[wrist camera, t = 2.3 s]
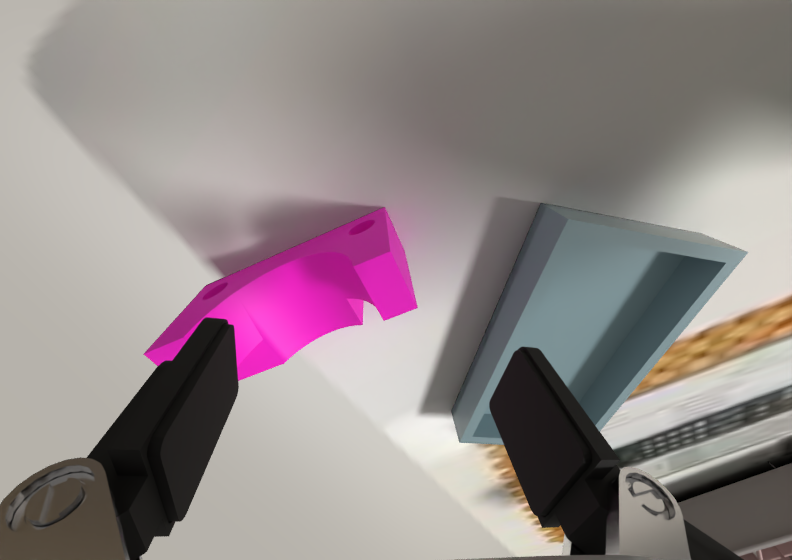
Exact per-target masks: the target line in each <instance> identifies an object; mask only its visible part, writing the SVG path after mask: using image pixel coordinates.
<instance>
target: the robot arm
mask: <svg viewBox="0 0 792 560" xmlns="http://www.w3.org/2000/svg"><path fill="white" fill-rule="evenodd" d="M237 393H238V372H237V358H236V344H235V330H234V325H231V324H228V321H227V320H226V319H219V318H208V317H206V318H204V319H203V320H202V321H201V323H200V324H199V325H198V327H197V328H196V329H195V331H194V332H193V333H192V335H191V336H190V337H189V339H188V340H187V341H186V343H185V344H184V345H183V347H182V348H181V350H180V351H179V352H178V354H177V355H176V356H175V358H174V359H173V360H172V361H170V360H166V361H164V362H162V363H161V364H160V365H159V366H158V367H157V368H156V369H155V371H154V372H153V373H152V375H151V376H150V377H149V378H148V380H147V381H146V382H145V384H144V385H143V386H142V387H141V389H140V390H139V392H138V393H137V394H136V395H135V396H134V398H133V399H132V400H131V402H130V403H129V404H128V406H127V407H126V408H125V409H124V411H123V412H122V413H121V414H120V416H119V417H118V418H117V419H116V421H115V422H114V423H113V425H112V426H111V427H110V428H109V430H108V431H107V432H106V434H105V435H104V436H103V437H102V439H101V440H100V441H99V443H98V444H97V445H96V446H95V448H94V449H93V451H92V452H91V453H90V454H89V455H88V457H87V458H74V459H68V460H64V461H61V462H58V463H56V464H53V465H50V466H48V467H46V468H44V469H42V470H40V471H39V472H37V473H35V474H33V475H31V476H30V477H29V478H27V479H26V480H25V481H23V482H22V483H20V484H19V485H18V486H16V488H14V489H13V491H11V492H10V494H9V495H7V496H6V497H5V498H4V499H3V501H2V502H1V504H0V560H142V557H141V555H142V554H144V553H145V552H147V550H148V548H149V546H150V544H151V542H152V539H153V538H154V536H155V537H156V536H169V535H170V532H171V530H172V528H173V526H174V523H175V521H182V520H183V518H184V517H185V515H186V513H187V511H188V509H189V506H190V504H191V502H192V499H193V497H194V495H195V492H196V490H197V488H198V485H199V483H200V481H201V478H202V476H203V474H204V472H205V469H206V467H207V465H208V462H209V460H210V458H211V455H212V453H213V451H214V448H215V446H216V444H217V441H218V439H219V437H220V434H221V432H222V429H223V427H224V425H225V423H226V420H227V418H228V415H229V413H230V411H231V409H232V406H233V404H234V402H235V399H236V397H237ZM489 408H490V412H491V414H492V417H493V419H494V422H495V424H496V426H497V429H498V431H499V434H500V436H501V438H502V441H503V443H504V446H505V448H506V450H507V453H508V455H509V458H510V460H511V462H512V465H513V467H514V470H515V472H516V474H517V477H518V479H519V482H520V484H521V487H522V489H523V491H524V494H525V496H526V499H527V501H528V503H529V506H530V508H531V510H532V512H533V513H534V514H535V515H536V516H538V519H539V521H540V523H541V526H542V528H546V527H559V526H560V525H561V527H562V529H563V531H564V533H565V536H564V543H563V550H562V556H536V557H508V558H481V559H456V560H744V559H742V558H741V557H739V556H738V555H736V554H735V553H733V552H732V551H730V550H729V549H727V548H726V547H724V546H723V545H721V544H720V543H718V542H717V541H716V540H714V539H713V538H711V537H710V536H708V535H707V534H705V533H704V532H702V531H701V530H699V529H698V528H696V527H695V526H693V525H692V524H690V523H689V522H687V521H686V520H684V519H683V515H682V512H681V509H680V506H679V505H678V503H677V501H676V500H675V498H674V497H673V496H672V494H671V493H670V492H669V491H668V490H667V489H666V487H664V486H663V485H662V484H661V483H660V482H659V481H658V480H657V479H655V478H654V477H652V476H651V475H649V474H648V473H646V472H644V471H642V470H640V469H637V468H633V467H624V468H623V469H622V470H620V469H619V468H618V466H617V465H616V464H617V463H618V462H619V461H620V459H619V458H618V456H617V455H616V454H615V452H614V451H613V450H612V448H611V447H610V445H609V444H608V443H607V441H606V440H605V439H604V437H603V436H602V434H601V433H600V432H599V430H598V429H597V427H596V426H595V425H594V423H593V422H592V421H591V419H590V418H589V416H588V415H587V414H586V412H585V411H584V409H583V408H582V407H581V405H580V404H579V403H578V401H577V400H576V398H575V397H574V396H573V394H572V393H571V392H570V390H569V389H568V387H567V386H566V385H565V383H564V382H563V380H562V379H561V378H560V376H559V375H558V374H557V372H556V371H555V369H554V368H553V367H552V365H551V364H550V362H549V361H548V360H547V358H546V357H545V356H544V354H543V353H542V351H541V350H540V349H538V348H533V347H520V348H519V349H518V350H516V351H515V352H514V353H513V355H512V357H511V359H510V361H509V363H508V365H507V367H506V369H505V371H504V373H503V375H502V377H501V379H500V381H499V383H498V385H497V387H496V389H495V391H494V393H493V395H492V397H491V399H490V402H489Z"/></svg>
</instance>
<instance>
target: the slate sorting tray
mask: <svg viewBox="0 0 792 560" xmlns="http://www.w3.org/2000/svg"><path fill="white" fill-rule="evenodd" d="M747 253H748V252H747V251H744V250H742V249H739V248H737V247H734V246H732V245H729V244H727V243H724V242H722V241H719V240H717V239H714V238H711V237H709V236H706V235H704V234H701V233H696V232H691V231H686V230H681V229H675V228H670V227H665V226H659V225H654V224H649V223H644V222H638V221H633V220H628V219H623V218H617V217H612V216H607V215H602V214H596V213H591V212H586V211H581V210H575V209H570V208H565V207H559V206H554V205H549V204H544V203H541V204H540V207H539V209H538V211H537V214H536V216H535V218H534V220H533V223H532V225H531V227H530V230H529V232H528V234H527V237H526V239H525V241H524V244H523V246H522V248H521V251H520V253H519V255H518V258H517V260H516V262H515V265H514V267H513V269H512V272H511V274H510V276H509V279H508V281H507V283H506V285H505V288H504V290H503V292H502V295H501V297H500V299H499V302H498V304H497V306H496V309H495V311H494V313H493V316H492V318H491V320H490V323H489V325H488V327H487V330H486V332H485V334H484V337H483V339H482V341H481V344H480V346H479V348H478V350H477V353H476V355H475V357H474V360H473V362H472V364H471V367H470V369H469V371H468V374H467V376H466V378H465V381H464V383H463V385H462V388H461V390H460V392H459V395H458V397H457V399H456V402H455V404H454V406H453V409H452V411H451V412H452V416H453V420H454V424H455V428H456V431H457V435H458V439H459V442H460V443H480V444H499V445H504V443H503V441H502V438H501V436H500V434H499V431H498V429H497V426H496V424H495V422H494V419H493V417H492V414H491V412H490V408H489V402H490V399H491V397H492V395H493V393H494V391H495V389H496V387H497V385H498V383H499V381H500V379H501V377H502V375H503V373H504V371H505V369H506V367H507V365H508V363H509V361H510V359H511V357H512V355H513V353H514V352H515V351H516V350H518V349H519V348H520V347H533V348H538V349H540V350H541V351H542V353H543V354H544V356H545V357H546V358H547V360H548V361H549V362H550V364H551V365H552V367H553V368H554V369H555V371H556V372H557V374H558V375H559V376H560V378H561V379H562V380H563V382H564V383H565V385H566V386H567V387H568V389H569V390H570V392H571V393H572V394H573V396H574V397H575V398H576V400H577V401H578V403H579V404H580V405H581V407H582V408H583V409H584V411H585V412H586V414H587V415H588V416H589V418H590V419H591V421H592V422H593V423H594V425H595V426H596V427H597V429H598V430H599V432H600V431H601V429H602V428H603V427H604V426H605V425H606V423H607V422H608V421H609V420H610V418H611V417H612V416H613V415H614V414H615V412H616V411H617V410H618V409H619V408H620V406H621V405H622V404H623V403H624V402H625V400H626V399H627V398H628V397H629V396H630V394H631V393H632V392H633V391H634V390H635V388H636V387H637V386H638V385H639V384H640V382H641V381H642V380H643V379H644V377H645V376H646V375H647V374H648V373H649V371H650V370H651V369H652V368H653V367H654V365H655V364H656V363H657V362H658V361H659V359H660V358H661V357H662V356H663V355H664V353H665V352H666V351H667V350H668V349H669V347H670V346H671V345H672V344H673V343H674V341H675V340H676V339H677V338H678V336H679V335H680V334H681V333H682V332H683V330H684V329H685V328H686V327H687V326H688V324H689V323H690V322H691V321H692V320H693V318H694V317H695V316H696V315H697V314H698V312H699V311H700V310H701V309H702V308H703V306H704V305H705V304H706V303H707V302H708V300H709V299H710V298H711V297H712V295H713V294H714V293H715V292H716V291H717V289H718V288H719V287H720V286H721V285H722V283H723V282H724V281H725V280H726V279H727V277H728V276H729V275H730V274H731V273H732V271H733V270H734V269H735V268H736V267H737V265H738V264H739V263H740V262H741V261H742V259H743V258H744V257H745V256H746V254H747Z"/></svg>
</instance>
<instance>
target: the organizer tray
mask: <svg viewBox="0 0 792 560" xmlns="http://www.w3.org/2000/svg"><path fill="white" fill-rule="evenodd" d="M771 465H772V464H771ZM772 466H773V465H772ZM773 467H774V466H773ZM774 468H775V467H774ZM678 505H679V506H680V509H681V512H682V515H683V519H684V520H686V521H687V522H689V523H690V524H692V525H693V526H695V527H696V528H698V529H699V530H701V531H702V532H704V533H705V534H707V535H708V536H710V537H711V538H713V539H714V540H716V541H717V542H718V543H720V544H721V545H723V546H724V547H726V548H727V549H729V550H730V551H732V552H733V553H735V554H736V555H738V556H739V557H741V558H742V559H744V560H792V463H790V464H788V465H785V466H782V467H779V468H775V469H773V470H770V471H768V472H765V473H762V474H759V475H756V476H753V477H750V478H748V479H745V480H742V481H739V482H736V483H733V484H730V485H728V486H725V487H722V488H719V489H716V490H713V491H710V492H708V493H705V494H702V495H699V496H696V497H693V498H690V499H688V500H685V501H682V502H679V503H678Z"/></svg>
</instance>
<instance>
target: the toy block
mask: <svg viewBox="0 0 792 560" xmlns="http://www.w3.org/2000/svg"><path fill="white" fill-rule="evenodd" d="M363 300H364V301H367V302H369V303H371V304H373V305H374V306H375V307H376V308H377V310H378V311H379V313H380V315H381V317H382V318H383V320H384V321H385V320H387V319H390V318H393V317H395V316H398V315H400V314H403V313H406V312H408V311H411V310H413V309H416V308H417V303H416V299H415V295H414V290H413V286H412V281H411V277H410V272H409V268H408V264H407V259H406V255H405V251H404V249H403V247H402V244H401V242H400V240H399V238H398V235H397V233H396V231H395V229H394V227H393V224H392V222H391V220H390V218H389V216H388V213H387V211H386V209H385V207H384V208H381V209H379V210H377V211H375V212H372V213H370V214H368V215H365V216H363V217H361V218H359V219H356V220H354V221H352V222H350V223H347V224H345V225H343V226H340V227H338V228H336V229H334V230H331V231H329V232H327V233H325V234H322V235H320V236H318V237H316V238H313V239H311V240H309V241H306V242H304V243H302V244H300V245H297V246H295V247H293V248H291V249H288V250H286V251H284V252H281V253H279V254H277V255H275V256H272V257H270V258H268V259H266V260H263V261H261V262H259V263H256V264H254V265H252V266H250V267H247V268H245V269H243V270H241V271H238V272H236V273H234V274H232V275H229V276H227V277H225V278H221V279H219V280H216V281H214V282H212V283H210V284H208V285H206V286H205V287H204V288H203V289H202V290H201V291H200V292H199V293H198V295H197V296H196V297H195V298H194V299H193V300H192V301H191V302H190V304H189V305H188V306H187V307H186V308H185V309H184V310H183V311H182V312H181V313H180V314H179V316H178V317H177V318H176V319H175V320H174V321H173V322H172V323H171V324H170V325H169V327H168V328H167V329H166V330H165V331H164V332H163V333H162V334H161V335H160V337H159V338H158V339H157V340H156V341H155V342H154V343H153V344H152V345H151V346H150V348H149V349H148V350H147V351H146V352H145V353H144V355H145V356H146V357H148V358H149V359H150V360H151V361H152V362H154V363H155V364H156V365H157V366H159V365H160V364H161V363H162V362H164V361H166V360H170V361H172V360H173V359H174V358H175V356H176V355H177V354H178V352H179V351H180V350H181V348H182V347H183V345H184V344H185V343H186V341H187V340H188V339H189V337H190V336H191V335H192V333H193V332H194V331H195V329H196V328H197V327H198V325H199V324H200V323H201V321H202V320H203V319H204V318H206V317H208V318H219V319H226V320H227V321H228V324H231V325H234V330H235V344H236V358H237V372H238V381H239V380H242V379H244V378H247V377H250V376H252V375H255V374H257V373H260V372H263V371H265V370H268V369H271V368H273V367H276V366H278V365H281V364H284V363H285V362H286V361H287V360H288V359H289V358H290V357H291V356H292V355H294V354H295V353H296V352H298V351H299V350H300V349H301V348H303V347H304V346H306V345H307V344H309V343H310V342H312V341H314V340H315V339H317V338H319V337H321V336H323V335H325V334H327V333H329V332H332V331H334V330H337V329H340V328H344V327H348V326H354V325H363Z"/></svg>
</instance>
